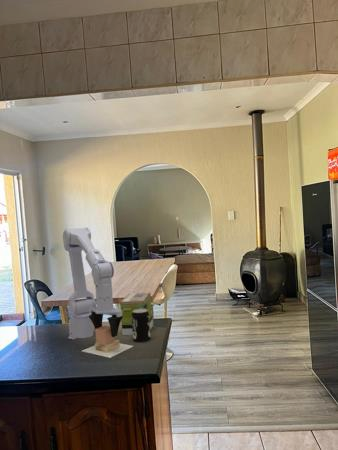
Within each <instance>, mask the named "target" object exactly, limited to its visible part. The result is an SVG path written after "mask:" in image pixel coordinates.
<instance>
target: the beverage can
mask: <svg viewBox="0 0 338 450" xmlns="http://www.w3.org/2000/svg"><path fill="white" fill-rule="evenodd" d="M132 312H133V313H132V331H133V335H132V341H133V342H134V343H146V342H149V341H150V340H152V339H151V330H150V322H149V313H148V310H147V309H143V308H142V309H135V310H133V311H132Z"/></svg>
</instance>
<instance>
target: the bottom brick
mask: <svg viewBox="0 0 338 450" xmlns="http://www.w3.org/2000/svg"><path fill="white" fill-rule="evenodd" d="M114 340H115V341H114V342H112V343H109V344H107V345H102V344H97V343H96V342H94V345H95V349H96V350H98V351H102V352H107V353H108V352H110V351H112V350H115V349H117V348H119V347H120V344H119V343H120V339H115V338H114Z"/></svg>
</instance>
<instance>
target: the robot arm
mask: <svg viewBox="0 0 338 450" xmlns="http://www.w3.org/2000/svg"><path fill="white" fill-rule="evenodd" d="M91 240H92V232H91V230H90V229H89V228H88V227H82V228H65V229H64V230H63V233H62V242H63V243H62V244H63V248H64V251H67V252H68V256H69V262H70V271H71V277H72V282H73V290H74V292H73V293H72V294H71V295H70V296H69V297H68V312H69V315H70V317H69V320H68V329H69V330H68V333H69V336H67V338H68V339H69V340H76V339H86V338H87V339H88V338H91V337H93V336H94V330H95V329H97V328H100V327H103V320H104V319H103V317H104V315H105V316H106V315H107V316H109V317H107V318H106V319H107V321H108V325H109V327H110V328H111V335H112V337H114V338H115V337H117V336H118V333H119V328H120V324H121V323H122V322H121V320H122V318H123V315H122V310H120V309H118V308H116V307H114V301H113V300H114V299H113V283H112V278H113V277H114V275H115V269H114V266H113V263H112V262H111V261H109V260H106V259H105V257H104V256H103V254H102V253H101V251H100V249H96V248H95V247H94V246H95V245H94V244H93V243H92V241H91ZM82 251H83V252H84V253H85V260H86V262H87V264H88V265H89V268H91V276H92V279H93V285H94V286H95V296H94V294H93V292H91V291H89V290H88V289H87V281H86V274H85V269H84V263H83V255H82ZM95 298H96V299H95Z"/></svg>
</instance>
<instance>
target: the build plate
mask: <svg viewBox="0 0 338 450" xmlns="http://www.w3.org/2000/svg"><path fill="white" fill-rule="evenodd" d="M119 344H120V347H119V348H117V349H115V350H112V351H110V352H108V353H107V352H102V351H98V350H96V349H95V344H94V345H92V346H90V347H87V348H86V349H83V350H81V352H82V353H88V354H92V355H97V356H99V357H105V358H109V359H111V358H112V357H115V356H116V355H119V354H120V353H123V352H124V351H127V350H129V349H131V348H133V347H134V345H130V344H125V343H120V342H119Z"/></svg>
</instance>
